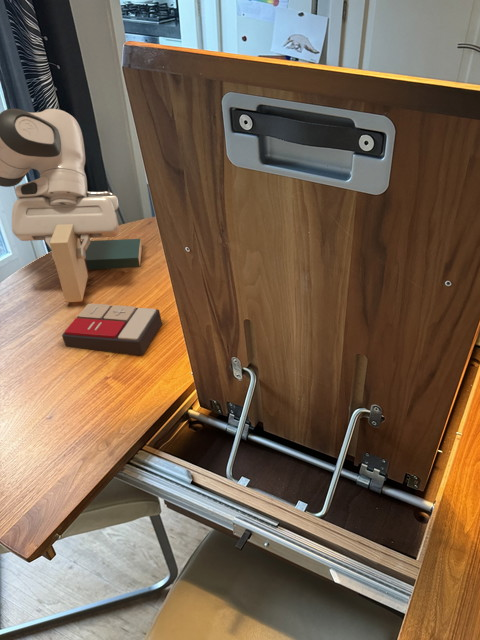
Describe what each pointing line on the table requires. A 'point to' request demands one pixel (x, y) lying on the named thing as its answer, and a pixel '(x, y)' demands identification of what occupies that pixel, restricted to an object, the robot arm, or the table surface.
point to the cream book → (69, 262)
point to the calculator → (113, 329)
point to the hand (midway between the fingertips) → (69, 258)
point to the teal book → (113, 254)
